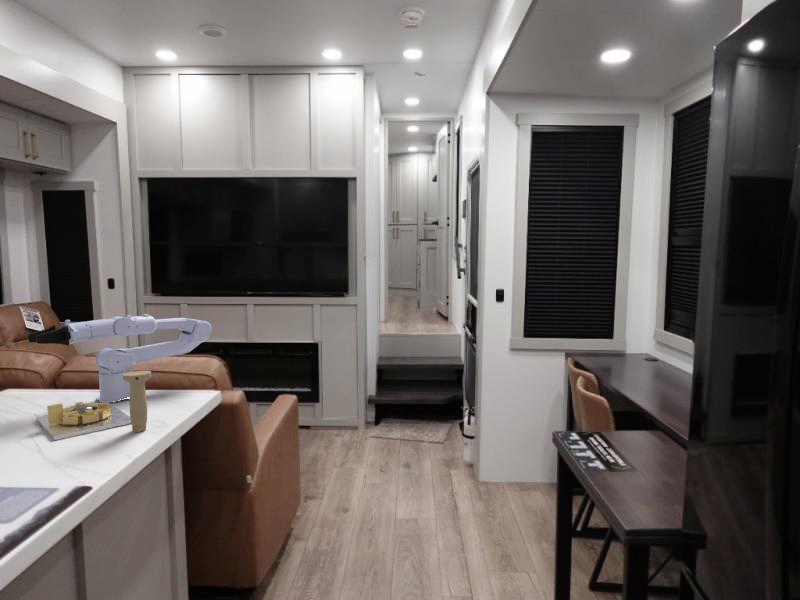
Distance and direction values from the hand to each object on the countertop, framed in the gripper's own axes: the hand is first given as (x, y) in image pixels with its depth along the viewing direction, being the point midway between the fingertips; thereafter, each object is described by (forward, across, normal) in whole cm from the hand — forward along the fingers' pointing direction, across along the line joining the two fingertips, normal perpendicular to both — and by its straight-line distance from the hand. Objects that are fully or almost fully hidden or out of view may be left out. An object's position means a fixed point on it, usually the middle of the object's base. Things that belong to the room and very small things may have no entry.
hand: (32, 339), depth 138 cm
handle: (-12, +32, +25) cm, 42 cm away
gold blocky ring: (-5, +14, +22) cm, 26 cm away
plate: (-6, +14, +23) cm, 28 cm away
